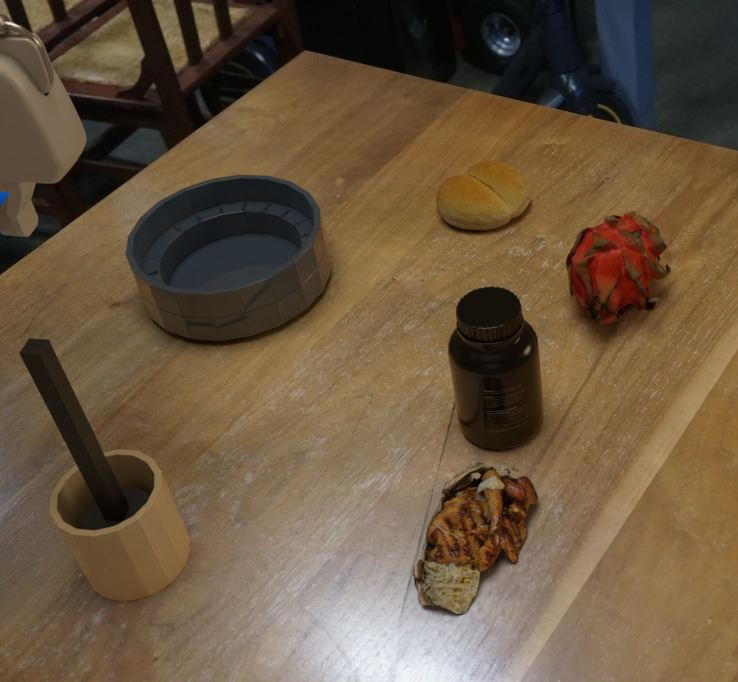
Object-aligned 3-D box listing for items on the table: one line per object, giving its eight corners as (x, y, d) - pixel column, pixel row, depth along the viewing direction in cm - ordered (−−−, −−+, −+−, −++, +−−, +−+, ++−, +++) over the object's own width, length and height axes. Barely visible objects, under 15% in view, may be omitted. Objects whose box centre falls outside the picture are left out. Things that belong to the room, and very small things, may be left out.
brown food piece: (398, 602, 76) (391, 572, 73) (456, 471, 84) (451, 440, 81) (495, 625, 74) (491, 595, 71) (544, 489, 82) (542, 457, 80)
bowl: (116, 339, 97) (94, 288, 93) (185, 221, 110) (168, 171, 106) (302, 351, 95) (288, 298, 91) (352, 228, 107) (341, 177, 103)
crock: (71, 599, 78) (30, 530, 72) (113, 515, 83) (78, 445, 77) (169, 609, 76) (135, 540, 71) (206, 523, 82) (177, 453, 76)
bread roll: (422, 209, 109) (417, 175, 106) (494, 172, 112) (491, 139, 110) (472, 247, 104) (469, 213, 101) (545, 208, 108) (544, 174, 105)
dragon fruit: (647, 268, 102) (605, 366, 96) (573, 216, 101) (526, 313, 94) (701, 226, 95) (660, 329, 89) (623, 170, 94) (575, 270, 87)
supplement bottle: (555, 398, 89) (549, 286, 81) (527, 460, 84) (518, 347, 76) (476, 381, 91) (462, 269, 83) (445, 441, 86) (427, 329, 78)
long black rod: (94, 581, 78) (-24, 372, 64) (121, 526, 81) (15, 316, 67) (157, 587, 77) (53, 377, 63) (182, 531, 81) (88, 320, 66)
